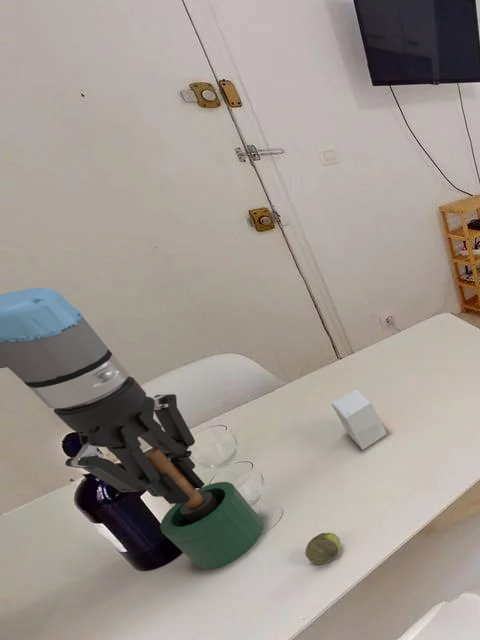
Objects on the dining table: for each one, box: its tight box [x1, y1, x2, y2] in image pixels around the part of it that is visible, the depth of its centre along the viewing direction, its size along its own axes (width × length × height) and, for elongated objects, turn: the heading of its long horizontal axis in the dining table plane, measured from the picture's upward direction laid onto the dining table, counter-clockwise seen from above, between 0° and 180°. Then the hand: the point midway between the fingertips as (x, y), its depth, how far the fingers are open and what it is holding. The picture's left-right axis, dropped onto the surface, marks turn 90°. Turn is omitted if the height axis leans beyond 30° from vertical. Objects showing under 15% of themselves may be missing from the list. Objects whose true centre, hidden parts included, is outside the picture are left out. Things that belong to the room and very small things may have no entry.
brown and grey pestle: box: [143, 447, 220, 524], centre depth 68 cm, size 4×4×18 cm
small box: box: [330, 389, 388, 451], centre depth 95 cm, size 8×6×10 cm
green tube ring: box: [159, 481, 264, 571], centre depth 73 cm, size 9×9×11 cm
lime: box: [304, 532, 341, 565], centre depth 72 cm, size 4×5×5 cm
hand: (187, 493), depth 69 cm, fingers closed on brown and grey pestle, 2 cm apart
